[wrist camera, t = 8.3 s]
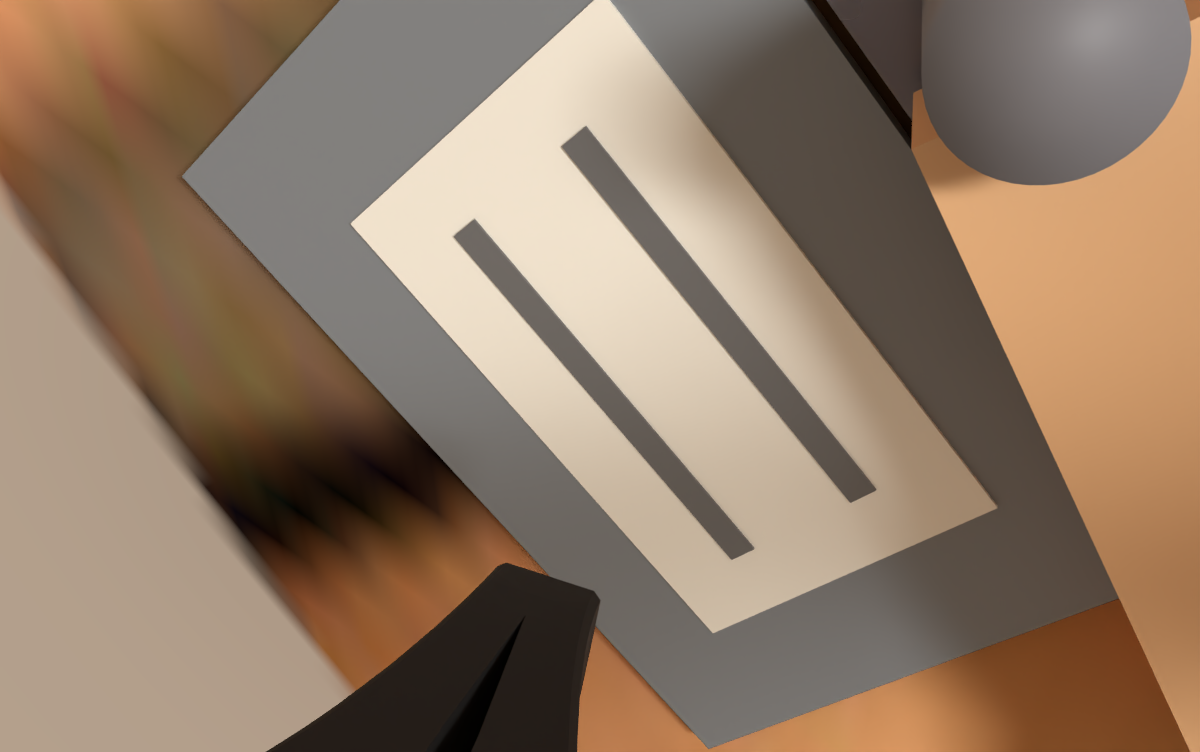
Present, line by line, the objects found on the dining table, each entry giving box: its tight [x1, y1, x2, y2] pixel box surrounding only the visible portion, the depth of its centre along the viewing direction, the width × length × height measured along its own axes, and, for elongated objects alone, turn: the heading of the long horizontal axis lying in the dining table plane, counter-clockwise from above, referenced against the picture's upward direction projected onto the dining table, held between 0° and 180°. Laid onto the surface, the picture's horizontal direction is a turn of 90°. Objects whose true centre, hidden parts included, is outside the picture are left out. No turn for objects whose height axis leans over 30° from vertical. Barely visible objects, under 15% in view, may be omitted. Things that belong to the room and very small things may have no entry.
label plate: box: [182, 0, 1119, 749], centre depth 20 cm, size 18×12×1 cm, turn 41°
